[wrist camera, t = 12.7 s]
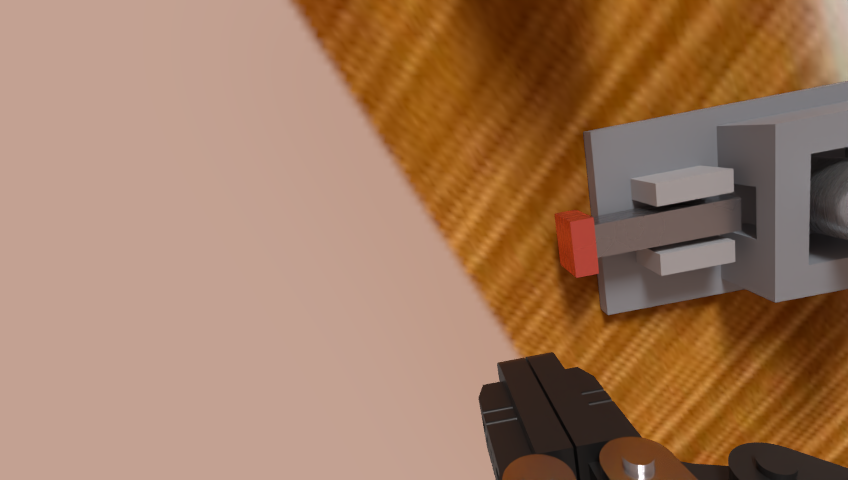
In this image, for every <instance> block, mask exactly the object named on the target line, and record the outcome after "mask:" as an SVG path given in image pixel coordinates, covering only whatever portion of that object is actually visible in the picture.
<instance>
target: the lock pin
mask: <svg viewBox="0 0 848 480" xmlns="http://www.w3.org/2000/svg"><path fill="white" fill-rule="evenodd" d="M555 222H556V231H557V239H558V248H559V256H560V264H561V265H562V266H563V267H564V268H565V269H566V270H567V271H569V272H570V273H571V274H572V275H573V276H575V277H576V278H578V277H583V276H589V275H594V274H599V268H598V258H600V257H605V256H610V255H616V254H621V253H626V252H631V251H637V250H642V249H647V248H652V247H658V246H663V245H668V244H673V243H679V242H684V241H689V240H694V239H700V238H705V237H710V236H715V235H721V234H726V233H731V232H736V231H741V197H737V196H731V195H726V194H721V195H716V196H710V197H705V198H700V199H695V200H689V201H684V202H679V203H674V204H669V205H663V206H658V207H656V206H653V205H651V206H646V207H641V208H635V209H630V210H625V211H620V212H615V213H609V214H604V215H599V216H594V217H591V216H589V215H587V214H584V213H582V212H580V211H578V210H572V211H566V212H561V213H556V214H555Z"/></svg>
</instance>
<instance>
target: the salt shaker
mask: <svg viewBox="0 0 848 480" xmlns="http://www.w3.org/2000/svg"><path fill="white" fill-rule="evenodd" d="M809 231H811V232H815V233H820V234H824V235H828V236H833V237H837V238H841V239H845V240H848V158H840V157H819V156H811V172H810V221H809Z"/></svg>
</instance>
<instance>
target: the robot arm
mask: <svg viewBox="0 0 848 480" xmlns="http://www.w3.org/2000/svg"><path fill="white" fill-rule="evenodd" d="M497 366H498V374H499V380H500V382H497V383H491V384H486V385H483V387H482V390H481V392H480V395H479V403H480V409H481V414H482V420H483V426H484V432H485V437H486V443H487V448H488V452H489V456H490V459H491V463H492V466H493V471H494V475H495V478H496V480H848V468H845V467H842V466H839V465H837V464H834V463H831V462H828V461H825V460H822V459H819V458H816V457H813V456H810V455H807V454H804V453H801V452H798V451H795V450H792V449H789V448H786V447H782V446H779V445H774V444H769V443H747V444H743V445H740V446H738V447H736V448H734V449H733V450H732V451H731V453H730V455H729V459H728V464H729V466H719V465H704V464H692V463H686V462H681V461H679V460H678V459H677V458H676V457H675V456H674V454H673V453H672V452H670V451H669V450H668V449H667V448H665V447H664V446H662V445H661V444H659V443H657V442H654V441H652V440H649V439H645V438H642V437H641V436H640V434H639V433H638V432H637V431H636V429H635V428H634V427H633V426H632V424H631V423H630V422H629V420H628V419H627V418H626V417H625V415H624V414H623V413H622V412H621V410H620V409H619V408H618V407H617V405H616V404H615V403H614V401H612V400H611V398H610V396H609V395H608V394H607V393H606V391H604V390H603V387H602V386H601V385H600V384H599V382H598V381H597V380H596V379H595V377H594V376H593V375H591V374H589V373H587V372H585V371H584V370H582V369H580V368H578V367H575V368H570V369H564V367H563V366H562V364H561V363H560V361H559V360H558V358H557V357H556V356H555V354H554V353H553V352H551V353H545V354H540V355H535V356H530V357H526V358H520V359H514V360H509V361H504V362H499V363H498V364H497Z"/></svg>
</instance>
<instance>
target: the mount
mask: <svg viewBox="0 0 848 480" xmlns="http://www.w3.org/2000/svg"><path fill="white" fill-rule="evenodd" d="M583 134H584V144H585V155H586V165H587V175H588V185H589V195H590V205H591V215H592V217H594V216H599V215H604V214H609V213H615V212H620V211H625V210H630V209H635V208H641V207H646V206H651V205H653V206H656V207H658V206H663V205H669V204H674V203H679V202H684V201H689V200H695V199H700V198H705V197H710V196H716V195H721V194H726V195H731V196H737V197H741V231H736V232H731V233H726V234H721V235H715V236H710V237H705V238H700V239H694V240H689V241H684V242H679V243H673V244H668V245H663V246H658V247H652V248H647V249H642V250H637V251H631V252H626V253H621V254H616V255H610V256H605V257H600V258H598V268H599V274H597V276H598V286H599V297H600V307H601V310H603V311H604V312H605V313H606V314H607V315H611V314H616V313H622V312H627V311H632V310H638V309H643V308H648V307H653V306H659V305H664V304H669V303H674V302H680V301H685V300H690V299H696V298H701V297H706V296H711V295H717V294H722V293H727V292H733V291H738V290H743V289H746V290H748V291H751V292H753V293H755V294H757V295H759V296H762V297H764V298H766V299H768V300H770V301H773V302H775V303H776V302H781V301H787V300H792V299H797V298H802V297H808V296H813V295H818V294H824V293H829V292H834V291H839V290H845V289H848V240H845V239H841V238H837V237H833V236H828V235H824V234H820V233H815V232H811V231H809V221H810V172H811V156H819V157H840V158H848V81H845V82H840V83H835V84H830V85H825V86H819V87H814V88H809V89H804V90H799V91H793V92H788V93H783V94H778V95H773V96H767V97H762V98H757V99H752V100H747V101H741V102H736V103H731V104H726V105H721V106H715V107H710V108H705V109H700V110H695V111H689V112H684V113H679V114H674V115H669V116H663V117H658V118H653V119H648V120H642V121H637V122H632V123H627V124H622V125H616V126H611V127H606V128H601V129H596V130H590V131H585V132H583Z"/></svg>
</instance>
